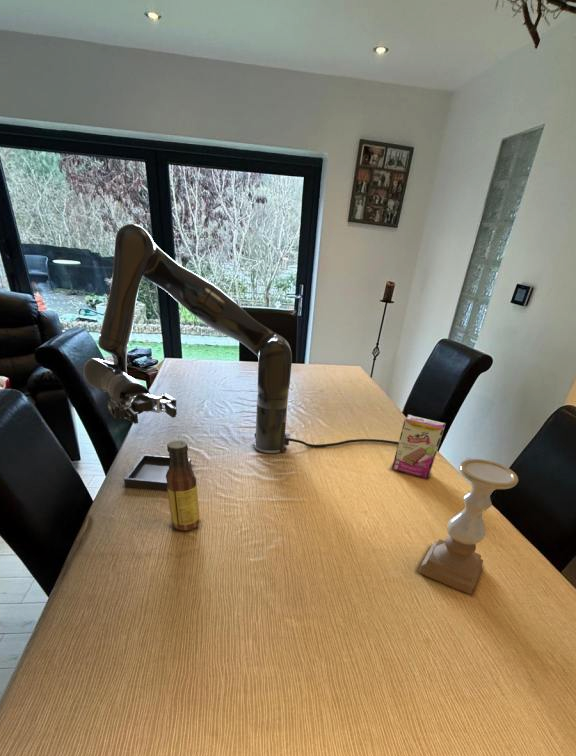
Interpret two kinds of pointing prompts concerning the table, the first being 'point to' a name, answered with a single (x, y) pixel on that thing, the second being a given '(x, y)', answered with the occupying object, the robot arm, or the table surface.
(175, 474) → the sauce bottle
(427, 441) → the candy bar box
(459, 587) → the candle holder
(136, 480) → the dark square tray
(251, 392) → the table surface
